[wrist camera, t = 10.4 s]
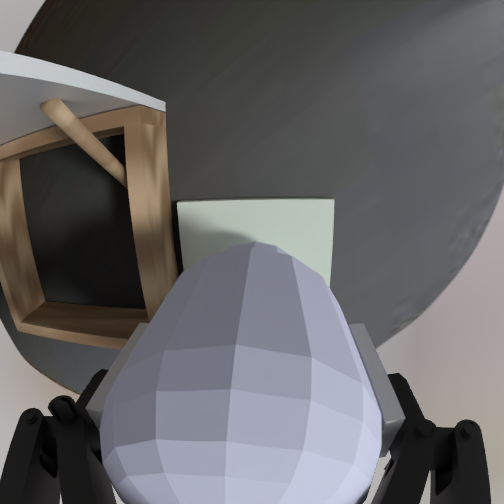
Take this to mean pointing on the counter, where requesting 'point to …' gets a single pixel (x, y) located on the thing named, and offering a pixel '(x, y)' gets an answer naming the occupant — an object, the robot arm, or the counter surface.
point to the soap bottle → (243, 392)
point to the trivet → (259, 228)
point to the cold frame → (142, 215)
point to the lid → (55, 95)
